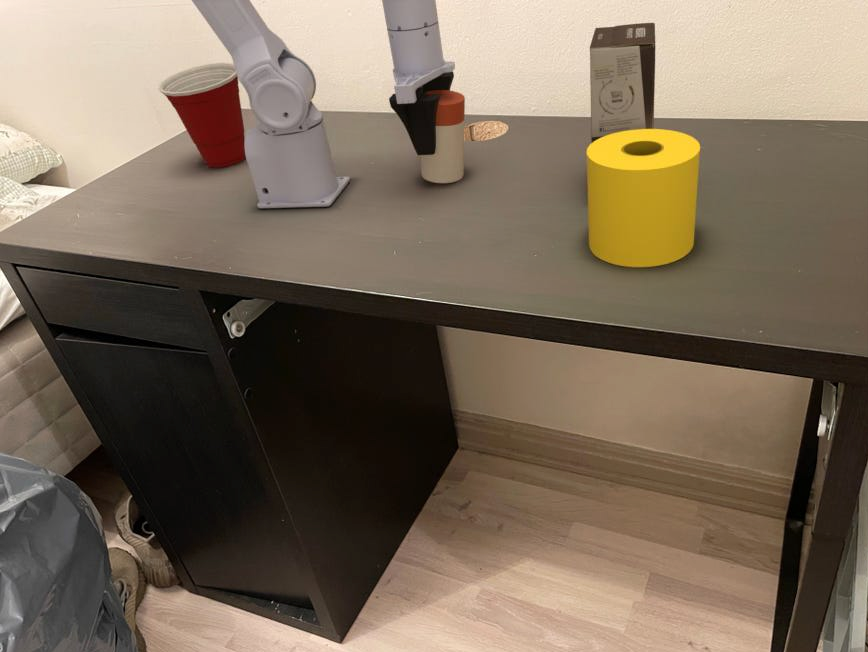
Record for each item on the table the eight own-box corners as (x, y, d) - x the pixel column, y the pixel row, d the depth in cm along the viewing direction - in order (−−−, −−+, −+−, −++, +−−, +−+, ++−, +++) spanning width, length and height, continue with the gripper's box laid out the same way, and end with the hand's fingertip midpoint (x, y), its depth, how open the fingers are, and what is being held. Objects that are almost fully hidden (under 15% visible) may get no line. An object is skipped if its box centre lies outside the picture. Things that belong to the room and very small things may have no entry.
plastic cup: (171, 174, 103) (138, 86, 96) (219, 145, 111) (192, 62, 104) (232, 177, 99) (203, 86, 92) (278, 148, 107) (254, 62, 100)
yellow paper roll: (690, 269, 67) (697, 170, 61) (581, 265, 70) (578, 170, 64) (696, 220, 75) (702, 128, 69) (597, 218, 77) (595, 129, 72)
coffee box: (651, 201, 79) (655, 42, 70) (591, 202, 81) (587, 47, 71) (652, 168, 86) (656, 20, 77) (597, 169, 88) (594, 24, 78)
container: (467, 168, 93) (468, 91, 87) (459, 185, 89) (459, 106, 83) (426, 164, 93) (425, 88, 88) (416, 181, 89) (414, 102, 84)
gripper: (432, 38, 75) (451, 166, 82) (460, 7, 86) (474, 122, 94) (366, 43, 76) (391, 169, 84) (403, 12, 87) (421, 125, 95)
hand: (431, 145), depth 89 cm, fingers closed on container, 5 cm apart
